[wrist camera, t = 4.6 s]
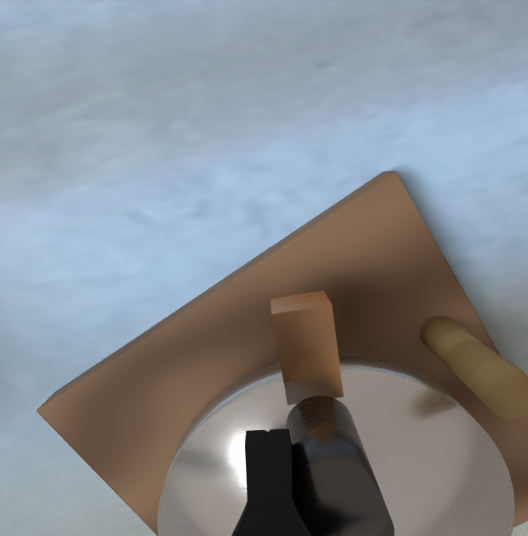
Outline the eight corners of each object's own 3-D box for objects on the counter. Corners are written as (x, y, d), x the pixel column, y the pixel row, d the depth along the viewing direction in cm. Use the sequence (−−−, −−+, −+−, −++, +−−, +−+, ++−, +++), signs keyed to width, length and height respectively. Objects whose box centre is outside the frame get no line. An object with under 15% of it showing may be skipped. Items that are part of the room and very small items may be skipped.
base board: (555, 471, 20) (696, 609, 13) (266, 618, 22) (268, 791, 16) (383, 172, 16) (466, 163, 9) (54, 392, 18) (-57, 504, 12)
